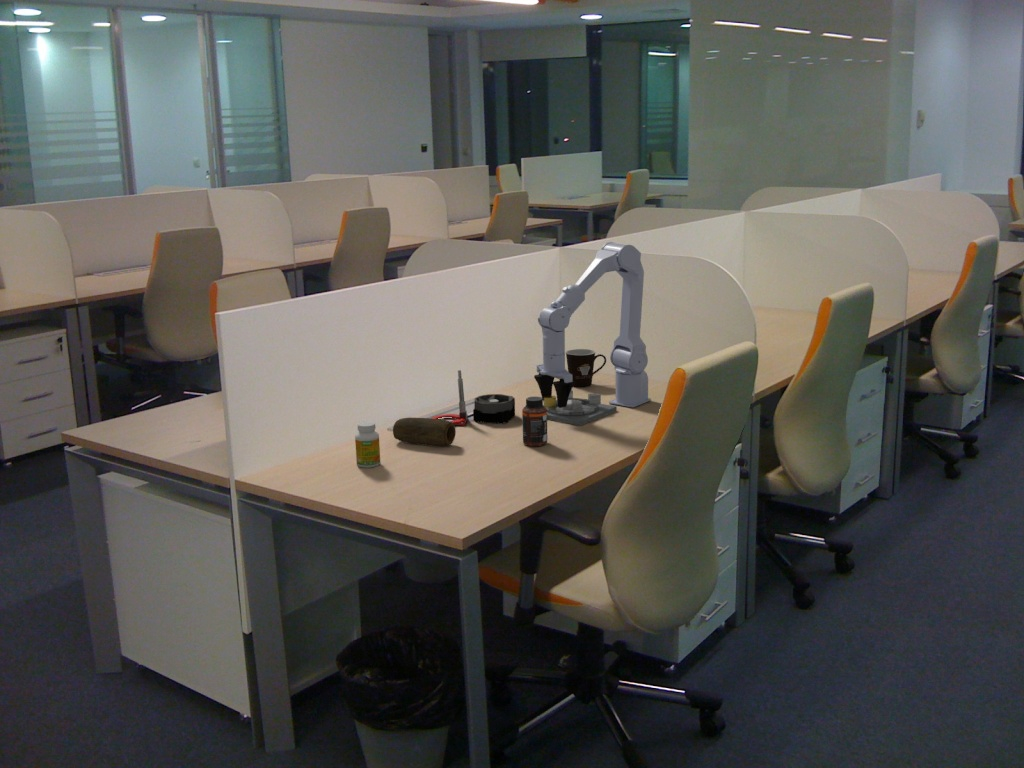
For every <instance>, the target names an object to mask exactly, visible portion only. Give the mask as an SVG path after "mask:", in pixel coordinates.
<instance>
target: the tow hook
mask: <svg viewBox="0 0 1024 768" xmlns="http://www.w3.org/2000/svg"><path fill="white" fill-rule="evenodd" d="M457 376H458V377H457V385H458V399H459V402H458V406H459V407H458V408H459V414H456V413H447V414H445V413H444V414H440V415H439V414H438V415H435V416H432V417H431V419H438V418H442V417H452V418H456V419H458V420H456V419H454V420H451V421H450V420H449V421H450V422H452V423H453V424H454V426H456V425H457V426H458V425H460V426H462V427H464V426H465V425H466V423H467V420H468V416H469V415H468V413H467V408H466V401H465V394H464V393H465V392H464V382H463V381H464V380H463V377H462V370H461V369H459V370H457Z"/></svg>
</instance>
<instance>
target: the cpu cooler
mask: <svg viewBox="0 0 1024 768" xmlns="http://www.w3.org/2000/svg"><path fill="white" fill-rule="evenodd" d="M472 415H473V416H472V417H473V422H475V423H485V424H501V425H504V424H507V423H508V422H509V421H511V420H512V419H513V418H514V417H515V416H516V398H515V397H514V396H513V395H507V394H502V393H496V394H495V393H494V394H491V393H490V394H488V393H487V394H482V395H478V396H476V397H474V407H473V410H472ZM509 423H510V422H509Z"/></svg>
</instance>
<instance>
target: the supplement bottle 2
mask: <svg viewBox="0 0 1024 768" xmlns="http://www.w3.org/2000/svg"><path fill="white" fill-rule="evenodd" d="M543 405H544V401H543V398H542V396H528V397H527V398H525V406H523V407H522V411H521V414H522V417H521V418H522V420H521V421H522V441H523V444H524V445H525V446H527V447H531V448H532V447H542V446H545V445H546V444H548V440H549V439H548V419H547V409H546V407H545V406H543Z"/></svg>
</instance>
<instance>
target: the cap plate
mask: <svg viewBox="0 0 1024 768" xmlns="http://www.w3.org/2000/svg"><path fill="white" fill-rule="evenodd" d="M580 402H581V401H580ZM543 406H544V404H543ZM617 406H618V405H612V404H611V405H610V404H605V403H604V404H603V403H601V404H598V410H597V411H595V412H594V413H590V414H585V415H573V416H568V415H558V414H554V413H551V412H548V410H547V421H548V420H549V421H553V422H554V421H555V422H559V423H564V424H571V425H575V426H580V427H581V426H584V425H586V424H588V423H590V422H593V421H596V420H598V419H600V418H603V417H606V416H608V415H610V414H612V413H615V412H617ZM590 407H591V406H589V405H586V404H582V402H581V410H582V409H586V408H590ZM554 408H558V409H562V410H572V405H571V400H568V402H567V406H566V407H563V408H559V407H558V405H556V407H554Z"/></svg>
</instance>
